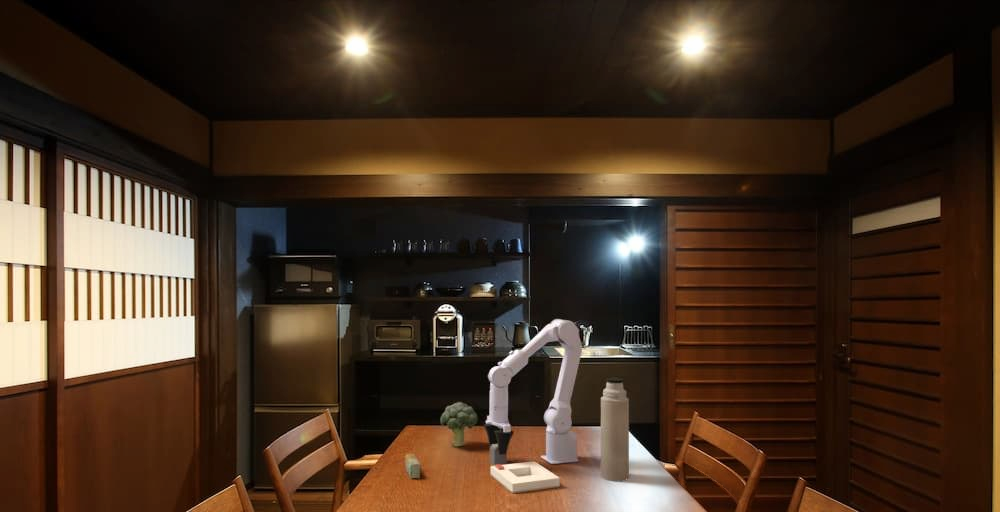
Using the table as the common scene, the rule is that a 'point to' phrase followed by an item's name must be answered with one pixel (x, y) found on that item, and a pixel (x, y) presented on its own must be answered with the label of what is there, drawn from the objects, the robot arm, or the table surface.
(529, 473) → the faceplate
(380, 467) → the table surface
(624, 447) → the thermos bottle
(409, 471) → the medication box
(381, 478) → the table surface
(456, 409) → the vegetable
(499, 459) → the plug
